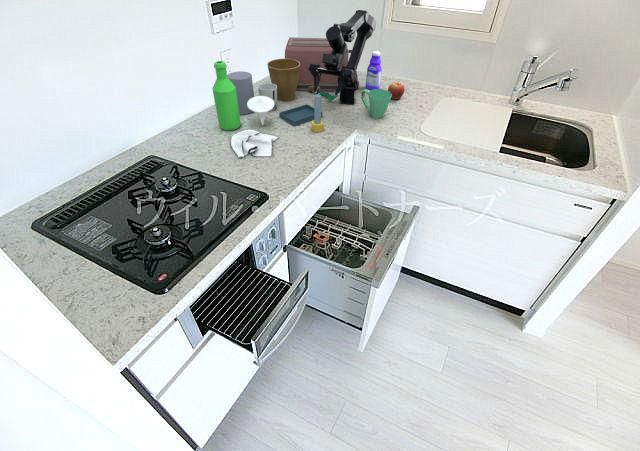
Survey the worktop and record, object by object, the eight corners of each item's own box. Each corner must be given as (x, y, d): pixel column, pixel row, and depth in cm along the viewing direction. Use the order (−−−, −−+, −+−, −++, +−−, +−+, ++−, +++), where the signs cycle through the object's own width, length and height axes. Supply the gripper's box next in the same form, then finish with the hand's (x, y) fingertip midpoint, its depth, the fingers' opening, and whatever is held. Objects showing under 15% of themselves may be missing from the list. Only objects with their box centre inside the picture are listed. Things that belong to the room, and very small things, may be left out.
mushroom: (277, 129, 138) (275, 100, 130) (250, 131, 136) (246, 102, 128) (274, 119, 145) (272, 91, 138) (249, 120, 144) (245, 92, 136)
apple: (401, 94, 169) (404, 78, 164) (404, 101, 163) (407, 84, 158) (385, 94, 169) (387, 78, 163) (388, 101, 163) (390, 84, 158)
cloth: (247, 127, 139) (246, 122, 137) (291, 141, 131) (291, 135, 129) (212, 148, 126) (210, 142, 124) (258, 165, 118) (257, 159, 116)
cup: (275, 113, 150) (273, 90, 143) (257, 111, 151) (255, 88, 144) (280, 106, 156) (279, 84, 149) (263, 104, 157) (261, 82, 150)
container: (259, 106, 155) (255, 72, 145) (249, 116, 147) (245, 80, 137) (238, 104, 157) (233, 70, 147) (228, 113, 149) (222, 78, 139)
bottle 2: (363, 88, 174) (367, 52, 163) (367, 85, 178) (371, 49, 166) (376, 91, 172) (381, 54, 160) (380, 88, 175) (385, 51, 164)
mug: (392, 116, 150) (396, 93, 143) (378, 122, 145) (382, 99, 138) (367, 106, 158) (369, 84, 151) (353, 112, 152) (355, 89, 146)
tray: (307, 108, 154) (306, 104, 153) (322, 116, 148) (322, 112, 147) (279, 116, 147) (279, 112, 146) (294, 126, 141) (294, 121, 139)
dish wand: (314, 126, 141) (314, 92, 132) (325, 128, 140) (326, 94, 130) (309, 130, 138) (309, 96, 129) (320, 133, 137) (320, 98, 127)
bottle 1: (222, 133, 135) (210, 67, 118) (217, 124, 141) (204, 60, 124) (244, 128, 138) (234, 64, 122) (237, 120, 144) (228, 57, 127)
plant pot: (272, 92, 168) (269, 57, 158) (301, 93, 168) (301, 58, 158) (267, 104, 157) (264, 68, 147) (299, 105, 157) (298, 69, 147)
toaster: (350, 92, 170) (353, 48, 157) (283, 90, 170) (280, 46, 157) (348, 79, 185) (351, 37, 171) (286, 77, 185) (284, 36, 171)
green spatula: (307, 92, 169) (307, 82, 166) (310, 91, 170) (310, 81, 167) (336, 105, 157) (337, 95, 154) (339, 104, 158) (340, 94, 155)
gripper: (310, 40, 130) (297, 78, 130) (355, 47, 125) (342, 86, 125) (318, 57, 141) (306, 92, 141) (360, 64, 135) (348, 100, 135)
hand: (325, 92), depth 135 cm, fingers open, 9 cm apart
